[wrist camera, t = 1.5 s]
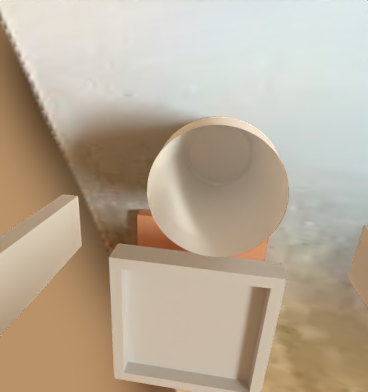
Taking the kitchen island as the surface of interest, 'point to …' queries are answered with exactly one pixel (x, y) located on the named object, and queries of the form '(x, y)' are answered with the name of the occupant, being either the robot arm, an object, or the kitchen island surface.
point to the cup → (218, 187)
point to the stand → (192, 314)
